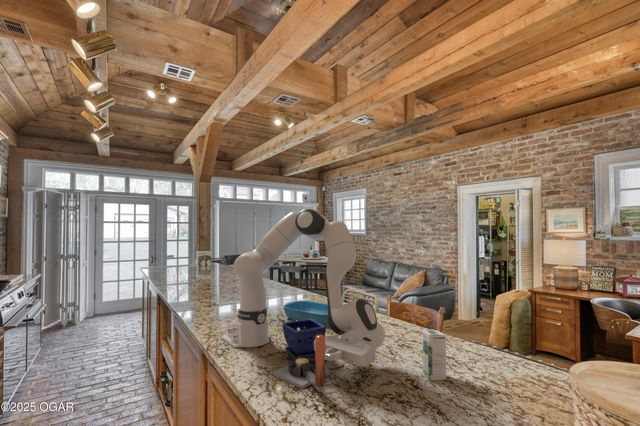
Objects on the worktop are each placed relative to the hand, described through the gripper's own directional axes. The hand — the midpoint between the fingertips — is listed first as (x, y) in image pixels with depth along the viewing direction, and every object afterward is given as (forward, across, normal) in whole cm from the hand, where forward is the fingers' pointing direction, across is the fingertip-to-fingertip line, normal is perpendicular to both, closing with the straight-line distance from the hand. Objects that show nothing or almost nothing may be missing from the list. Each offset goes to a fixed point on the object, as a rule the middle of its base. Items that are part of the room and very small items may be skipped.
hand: (326, 357), depth 96 cm
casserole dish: (-56, -56, +10) cm, 79 cm away
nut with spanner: (-1, -8, +9) cm, 12 cm away
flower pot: (-15, -24, +10) cm, 31 cm away
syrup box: (-31, +20, +10) cm, 39 cm away
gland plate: (-3, -13, +10) cm, 17 cm away
